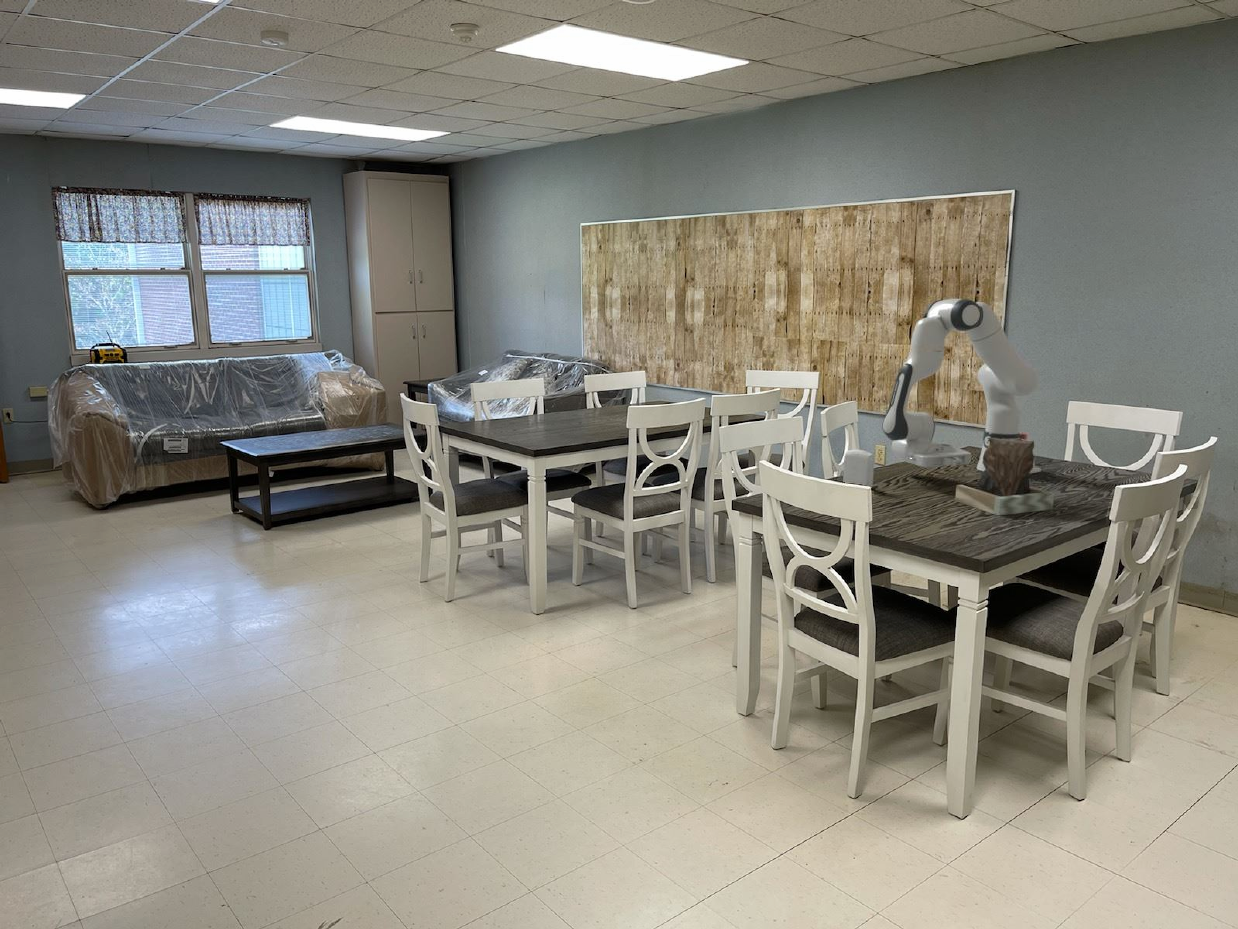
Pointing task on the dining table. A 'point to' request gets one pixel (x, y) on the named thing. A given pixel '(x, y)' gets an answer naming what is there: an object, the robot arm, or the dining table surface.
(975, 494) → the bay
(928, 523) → the dining table surface
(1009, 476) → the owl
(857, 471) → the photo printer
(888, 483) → the dining table surface
